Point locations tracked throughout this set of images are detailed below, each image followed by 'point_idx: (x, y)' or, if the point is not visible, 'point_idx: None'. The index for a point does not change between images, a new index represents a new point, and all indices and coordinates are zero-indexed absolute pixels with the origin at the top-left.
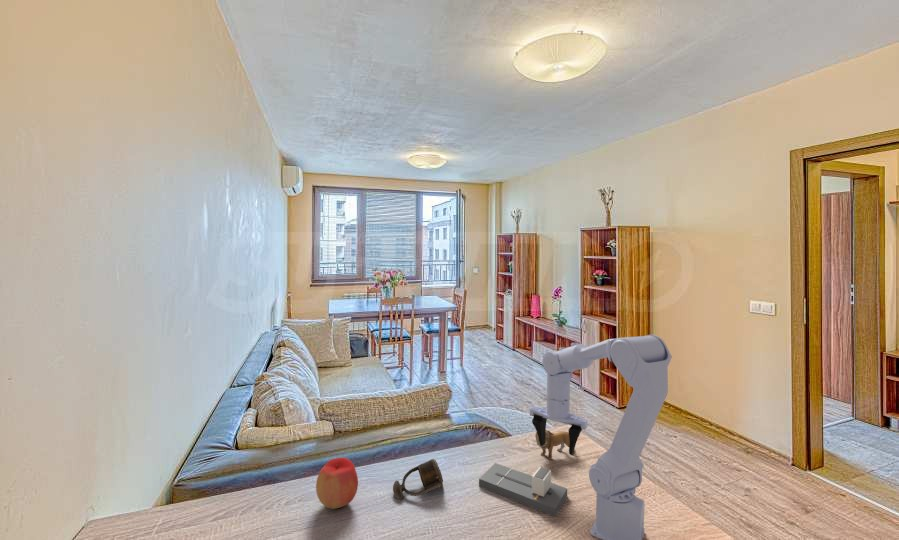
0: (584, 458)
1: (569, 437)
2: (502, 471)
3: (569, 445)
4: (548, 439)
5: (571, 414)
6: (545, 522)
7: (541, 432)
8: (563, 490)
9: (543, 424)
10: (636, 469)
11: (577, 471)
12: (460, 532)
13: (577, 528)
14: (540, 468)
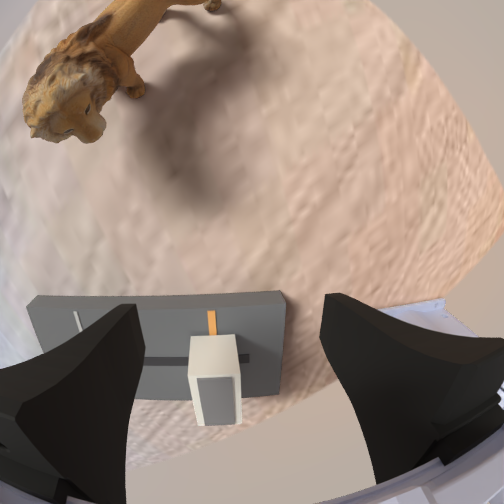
0: (264, 10)
1: (366, 438)
2: (68, 337)
3: (343, 386)
4: (100, 88)
5: (484, 499)
6: (260, 401)
7: (124, 425)
8: (277, 321)
9: (98, 443)
10: None
11: (268, 111)
12: (150, 464)
13: (327, 376)
14: (199, 387)
